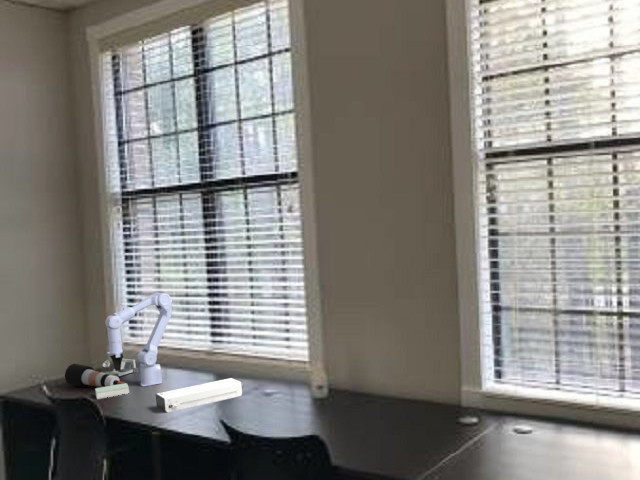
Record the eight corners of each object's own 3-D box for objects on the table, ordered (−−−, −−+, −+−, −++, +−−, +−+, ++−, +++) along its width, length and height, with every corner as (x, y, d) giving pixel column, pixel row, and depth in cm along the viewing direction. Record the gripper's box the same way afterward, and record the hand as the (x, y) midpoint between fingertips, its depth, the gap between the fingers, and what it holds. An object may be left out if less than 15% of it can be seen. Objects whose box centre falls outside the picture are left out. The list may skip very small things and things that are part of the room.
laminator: (232, 391, 307) (231, 377, 306) (244, 396, 296) (242, 382, 296) (156, 408, 289) (155, 393, 289) (166, 414, 279) (164, 399, 279)
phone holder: (108, 361, 349) (93, 360, 356) (110, 381, 349) (95, 379, 356) (136, 354, 363) (122, 352, 370) (138, 372, 364) (124, 371, 370)
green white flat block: (127, 390, 324) (126, 385, 324) (129, 393, 317) (128, 388, 317) (95, 396, 319) (95, 390, 319) (97, 399, 312) (96, 393, 312)
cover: (126, 384, 324) (126, 382, 324) (128, 388, 317) (128, 386, 317) (95, 390, 319) (94, 388, 319) (96, 393, 312) (96, 391, 312)
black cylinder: (119, 399, 327) (112, 383, 322) (69, 388, 343) (61, 372, 339) (133, 385, 334) (126, 369, 330) (83, 374, 351) (76, 359, 346)
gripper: (104, 340, 330) (107, 369, 330) (107, 345, 316) (110, 374, 317) (120, 338, 333) (122, 366, 333) (123, 342, 319) (126, 372, 320)
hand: (117, 370), depth 325 cm, fingers closed
